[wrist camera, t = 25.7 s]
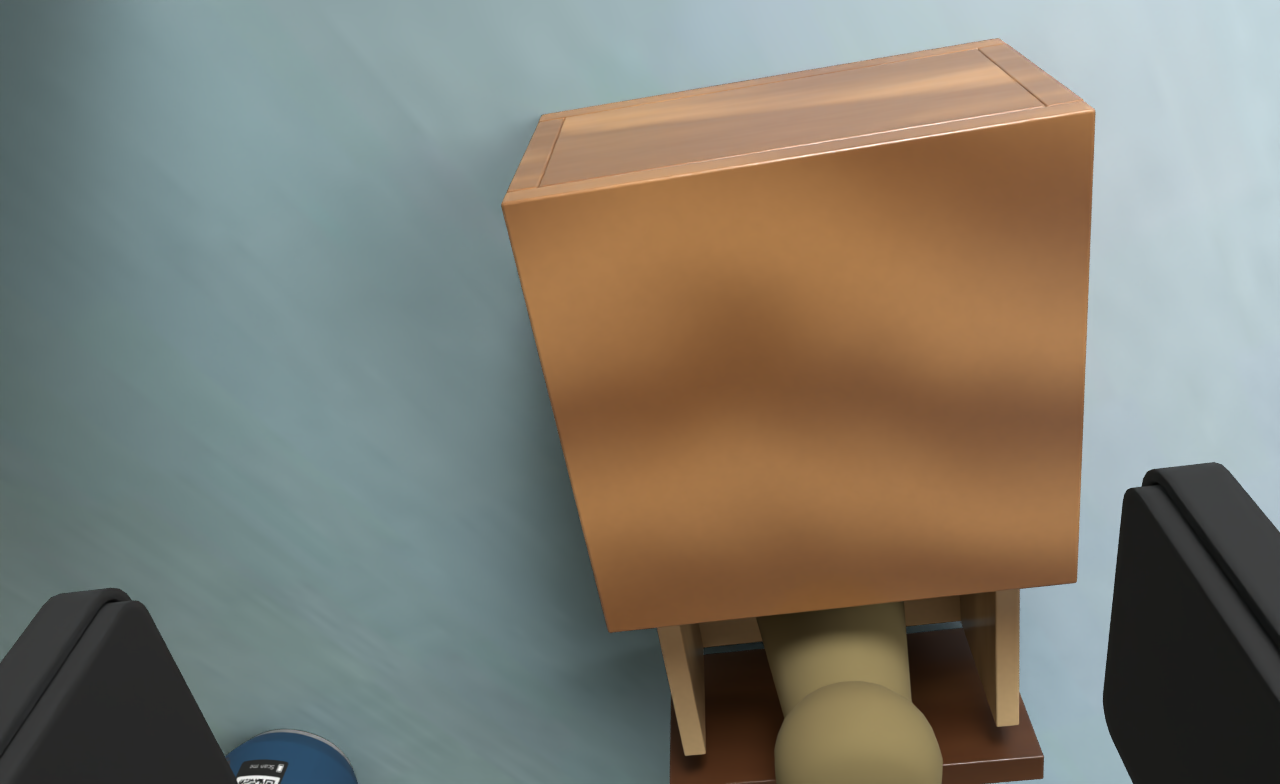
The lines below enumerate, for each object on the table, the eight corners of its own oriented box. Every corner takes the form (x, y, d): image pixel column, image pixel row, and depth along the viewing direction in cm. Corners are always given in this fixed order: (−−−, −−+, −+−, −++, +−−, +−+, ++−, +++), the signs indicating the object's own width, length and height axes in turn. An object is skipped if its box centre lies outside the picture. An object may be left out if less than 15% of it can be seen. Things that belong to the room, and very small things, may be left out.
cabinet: (1002, 433, 40) (1078, 583, 32) (621, 480, 41) (608, 634, 34) (999, 37, 32) (1097, 108, 25) (541, 114, 34) (499, 203, 27)
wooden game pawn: (891, 499, 39) (958, 726, 29) (910, 619, 42) (976, 862, 32) (732, 526, 40) (747, 755, 30) (761, 642, 42) (783, 885, 33)
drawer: (995, 753, 47) (1041, 893, 41) (697, 780, 48) (699, 918, 42) (991, 363, 37) (1050, 471, 31) (618, 413, 39) (606, 524, 33)
